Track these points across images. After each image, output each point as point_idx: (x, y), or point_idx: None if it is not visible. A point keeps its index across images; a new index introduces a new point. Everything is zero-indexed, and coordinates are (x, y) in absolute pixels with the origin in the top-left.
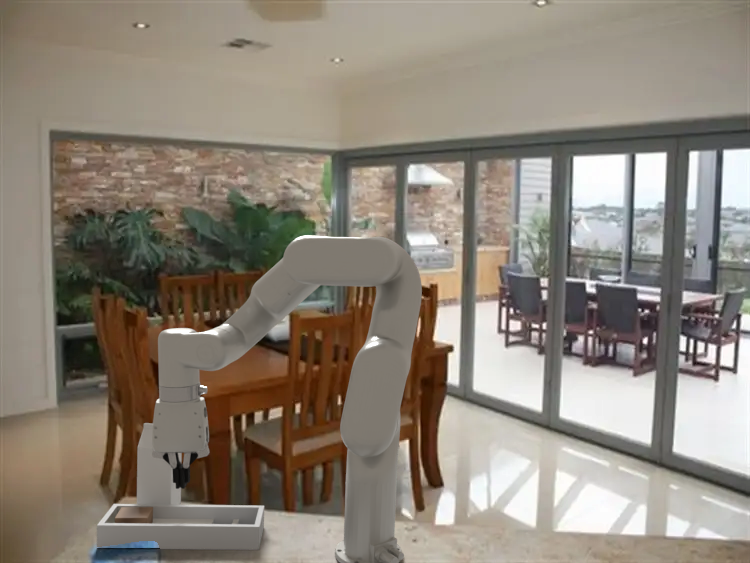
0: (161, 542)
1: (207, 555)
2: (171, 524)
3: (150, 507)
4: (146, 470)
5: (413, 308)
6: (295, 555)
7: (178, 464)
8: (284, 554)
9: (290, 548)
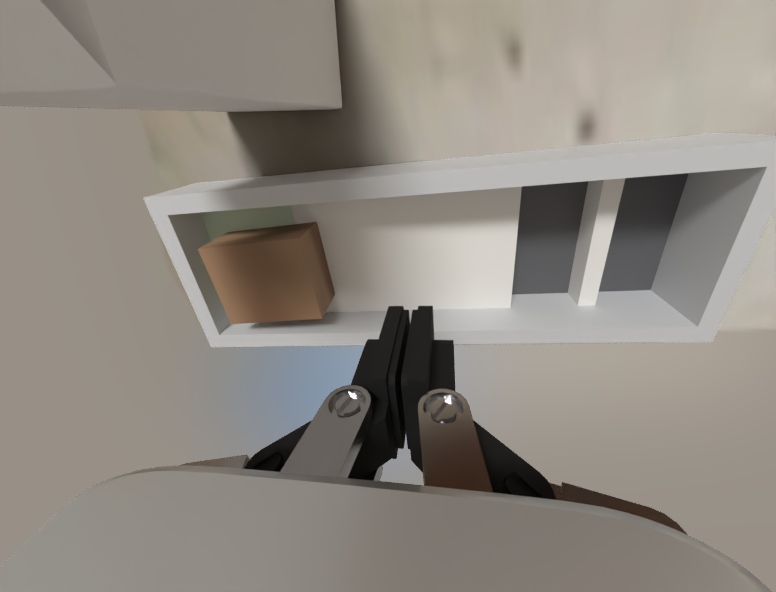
0: None
1: None
2: None
3: (291, 241)
4: (99, 106)
5: None
6: (769, 324)
7: (388, 460)
8: (735, 320)
9: (769, 286)
